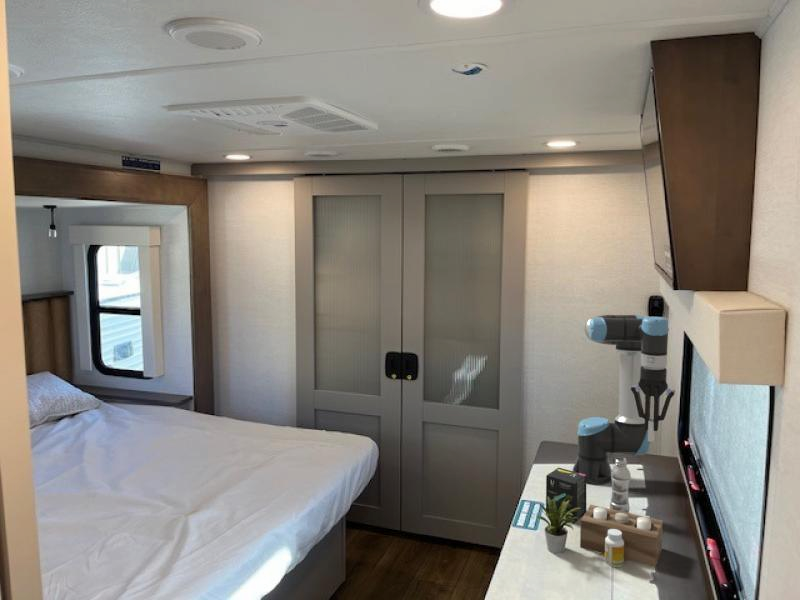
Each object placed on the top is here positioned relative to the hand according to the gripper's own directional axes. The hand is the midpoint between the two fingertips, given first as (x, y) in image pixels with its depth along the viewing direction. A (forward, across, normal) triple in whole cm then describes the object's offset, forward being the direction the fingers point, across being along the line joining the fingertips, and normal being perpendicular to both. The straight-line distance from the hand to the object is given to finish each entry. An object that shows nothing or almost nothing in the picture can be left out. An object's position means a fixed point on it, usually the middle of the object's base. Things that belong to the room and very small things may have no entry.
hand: (651, 440), depth 191 cm
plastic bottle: (+33, -11, +11) cm, 36 cm away
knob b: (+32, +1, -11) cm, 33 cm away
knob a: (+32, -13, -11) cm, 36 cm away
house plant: (+33, -23, -23) cm, 46 cm away
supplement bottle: (+33, -6, -20) cm, 39 cm away
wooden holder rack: (+32, -6, -11) cm, 35 cm away
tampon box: (+33, -27, +2) cm, 42 cm away
